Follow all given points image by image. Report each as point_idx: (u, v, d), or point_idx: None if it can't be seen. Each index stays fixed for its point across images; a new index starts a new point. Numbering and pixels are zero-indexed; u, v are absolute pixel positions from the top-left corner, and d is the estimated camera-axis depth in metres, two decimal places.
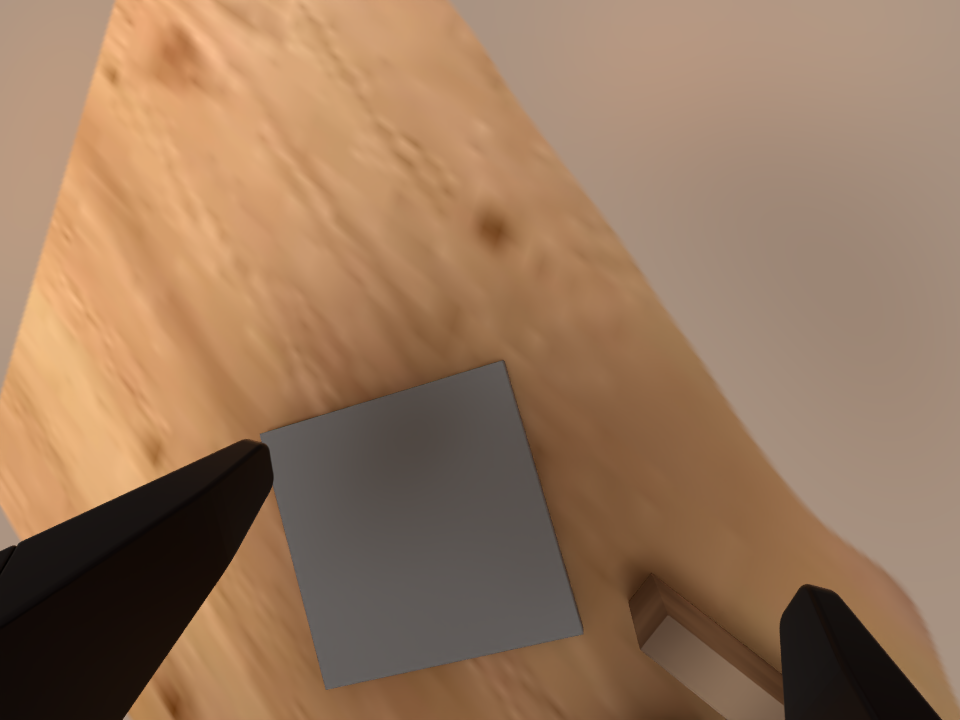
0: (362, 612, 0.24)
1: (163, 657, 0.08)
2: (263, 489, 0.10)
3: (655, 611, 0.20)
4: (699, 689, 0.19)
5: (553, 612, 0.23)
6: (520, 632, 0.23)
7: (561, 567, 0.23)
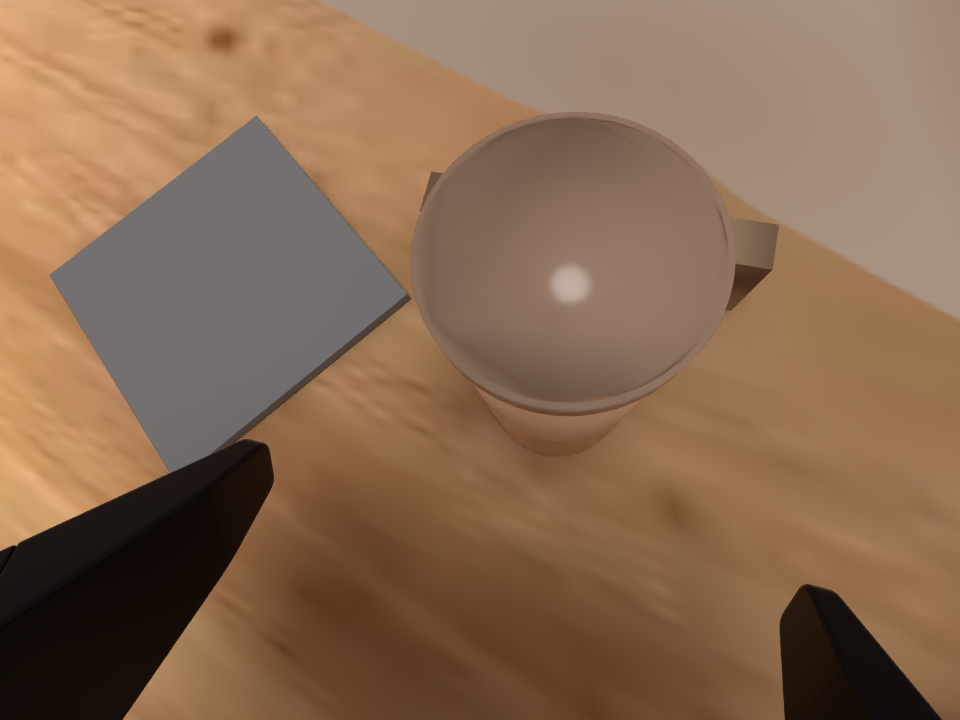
0: (192, 384, 0.23)
1: (163, 657, 0.08)
2: (263, 489, 0.10)
3: None
4: None
5: (373, 289, 0.23)
6: (350, 322, 0.22)
7: (365, 248, 0.23)
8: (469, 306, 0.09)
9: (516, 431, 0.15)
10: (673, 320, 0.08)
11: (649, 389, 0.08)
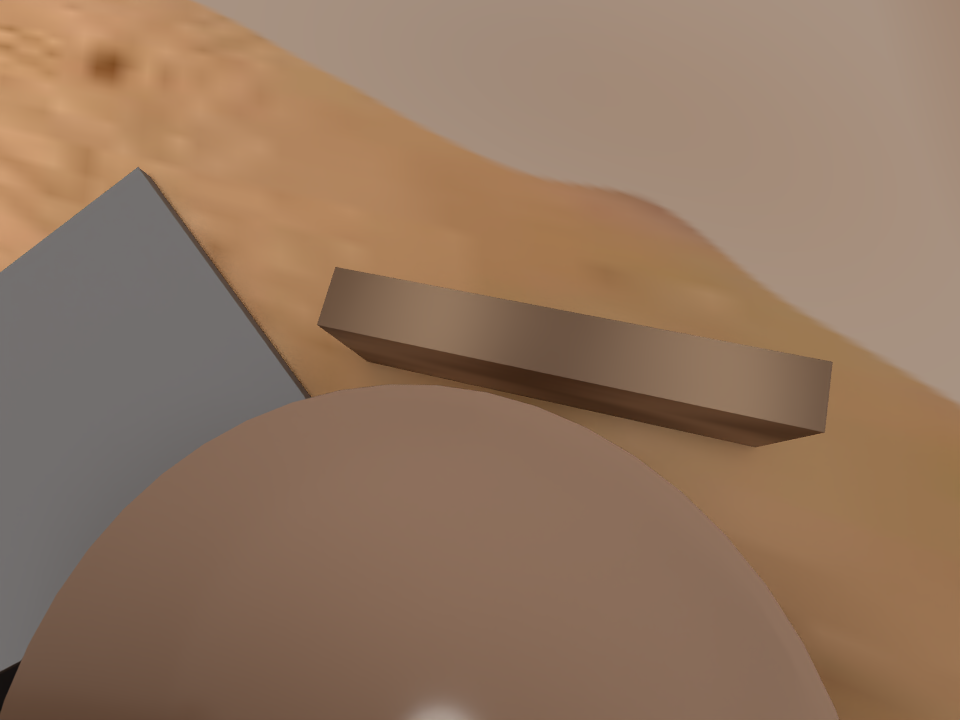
0: (32, 535, 0.17)
1: None
2: None
3: None
4: (403, 333, 0.13)
5: (274, 408, 0.17)
6: None
7: (267, 350, 0.17)
8: None
9: None
10: None
11: None
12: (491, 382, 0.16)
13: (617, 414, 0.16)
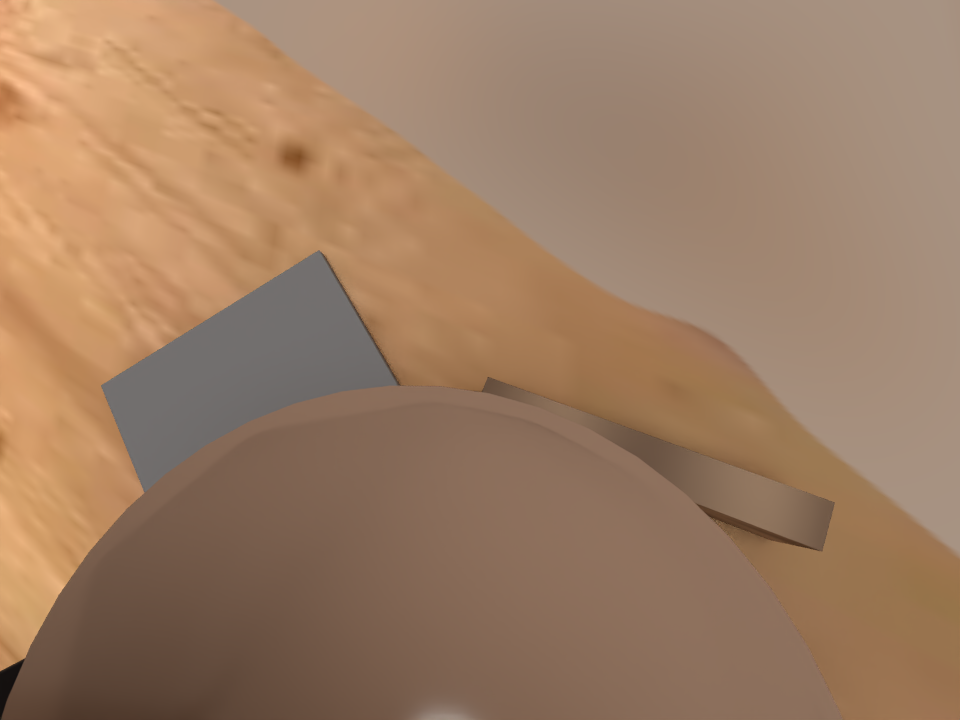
0: None
1: None
2: None
3: None
4: None
5: None
6: None
7: None
8: None
9: None
10: None
11: None
12: None
13: None
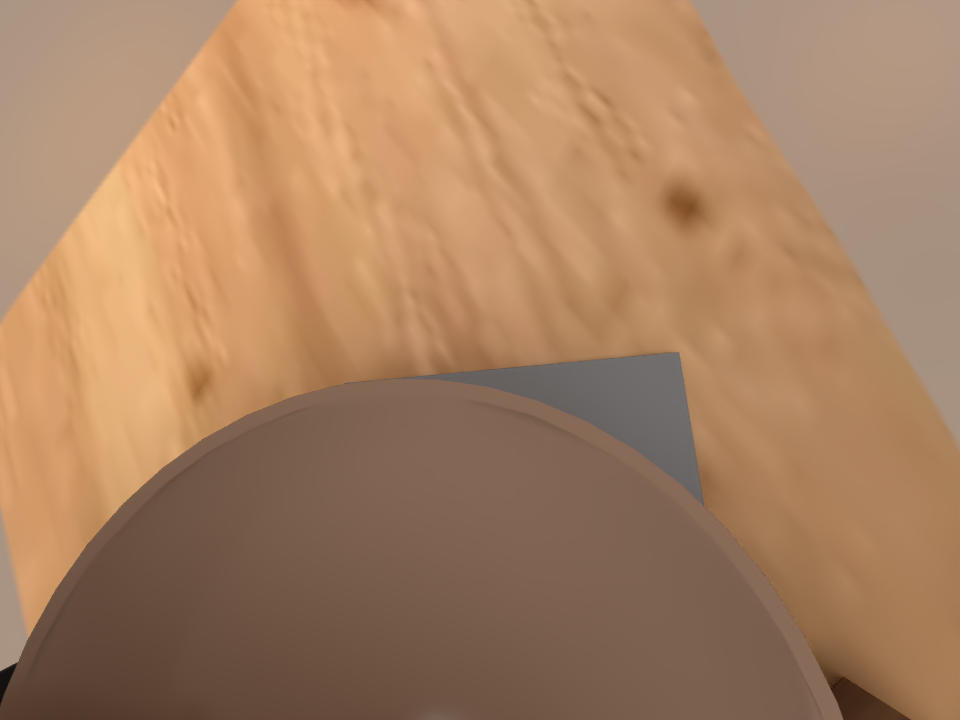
0: None
1: None
2: None
3: None
4: None
5: None
6: None
7: None
8: None
9: None
10: None
11: None
12: None
13: None
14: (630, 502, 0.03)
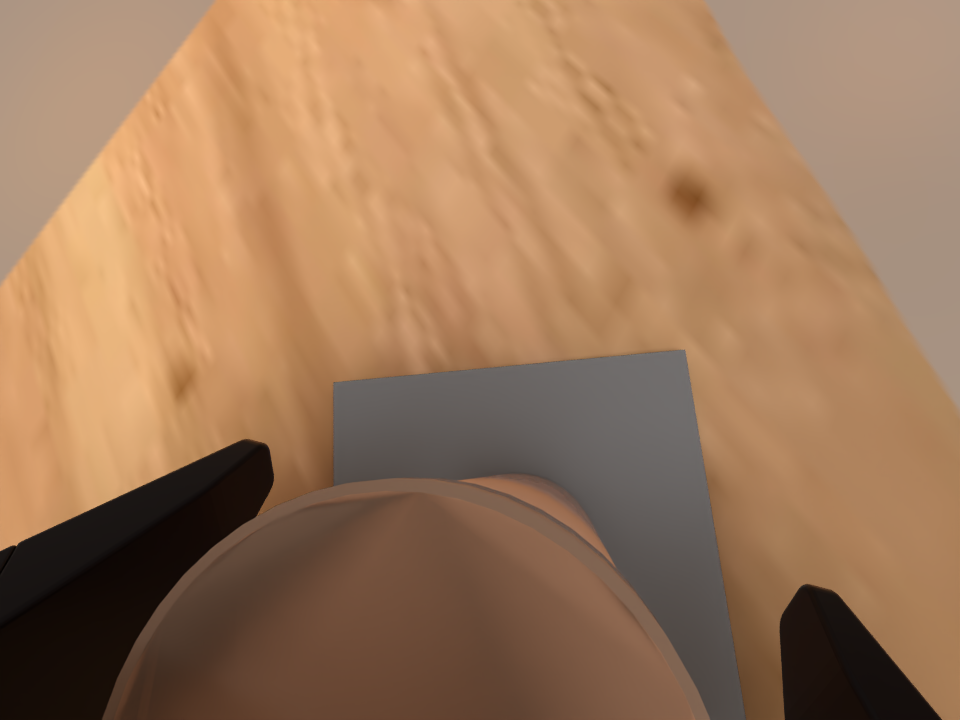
0: None
1: None
2: (263, 489, 0.10)
3: None
4: None
5: None
6: None
7: (732, 656, 0.16)
8: None
9: None
10: None
11: None
12: None
13: None
14: (570, 581, 0.04)
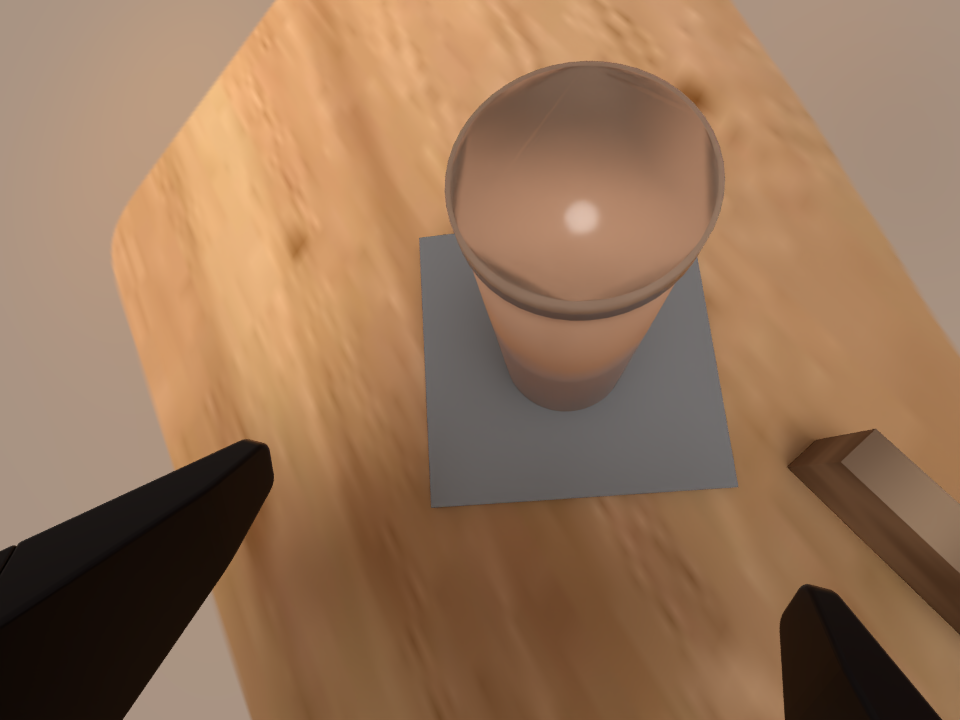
0: (491, 429, 0.22)
1: (163, 657, 0.08)
2: (263, 489, 0.10)
3: (848, 441, 0.18)
4: (906, 513, 0.17)
5: (707, 459, 0.21)
6: (667, 475, 0.21)
7: (722, 413, 0.21)
8: (496, 224, 0.10)
9: (530, 372, 0.17)
10: (671, 231, 0.10)
11: (652, 288, 0.10)
12: (897, 559, 0.19)
13: None
14: (652, 89, 0.10)
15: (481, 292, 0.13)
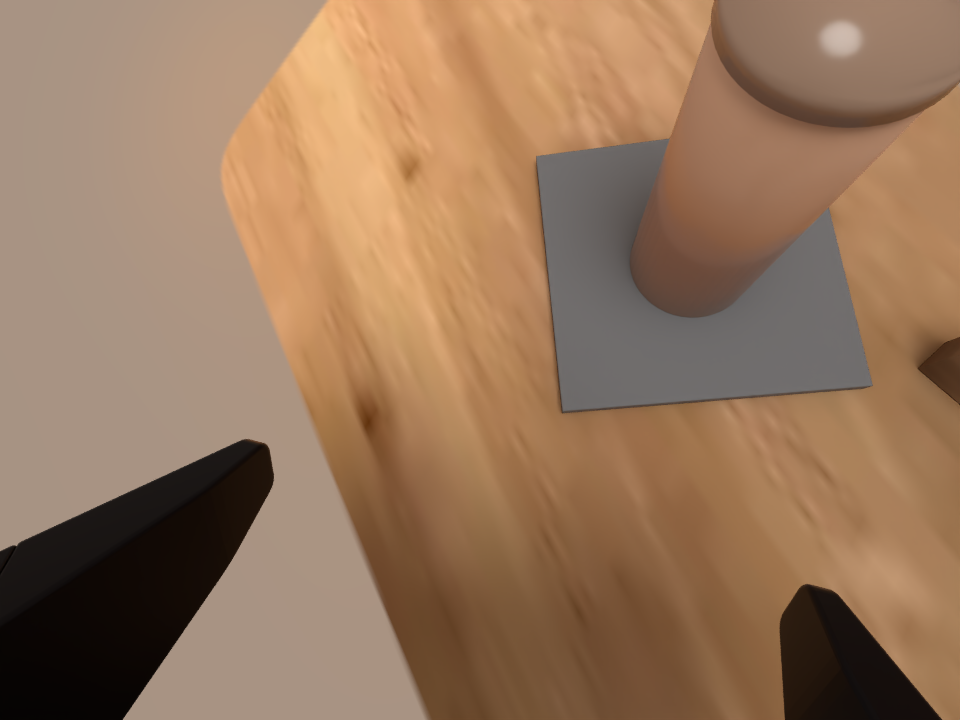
0: (619, 335, 0.23)
1: (163, 657, 0.08)
2: (263, 489, 0.10)
3: None
4: None
5: (839, 360, 0.21)
6: (800, 375, 0.21)
7: (853, 316, 0.22)
8: (782, 30, 0.10)
9: (703, 250, 0.17)
10: None
11: (951, 80, 0.10)
12: None
13: None
14: None
15: (705, 137, 0.13)
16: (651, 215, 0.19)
